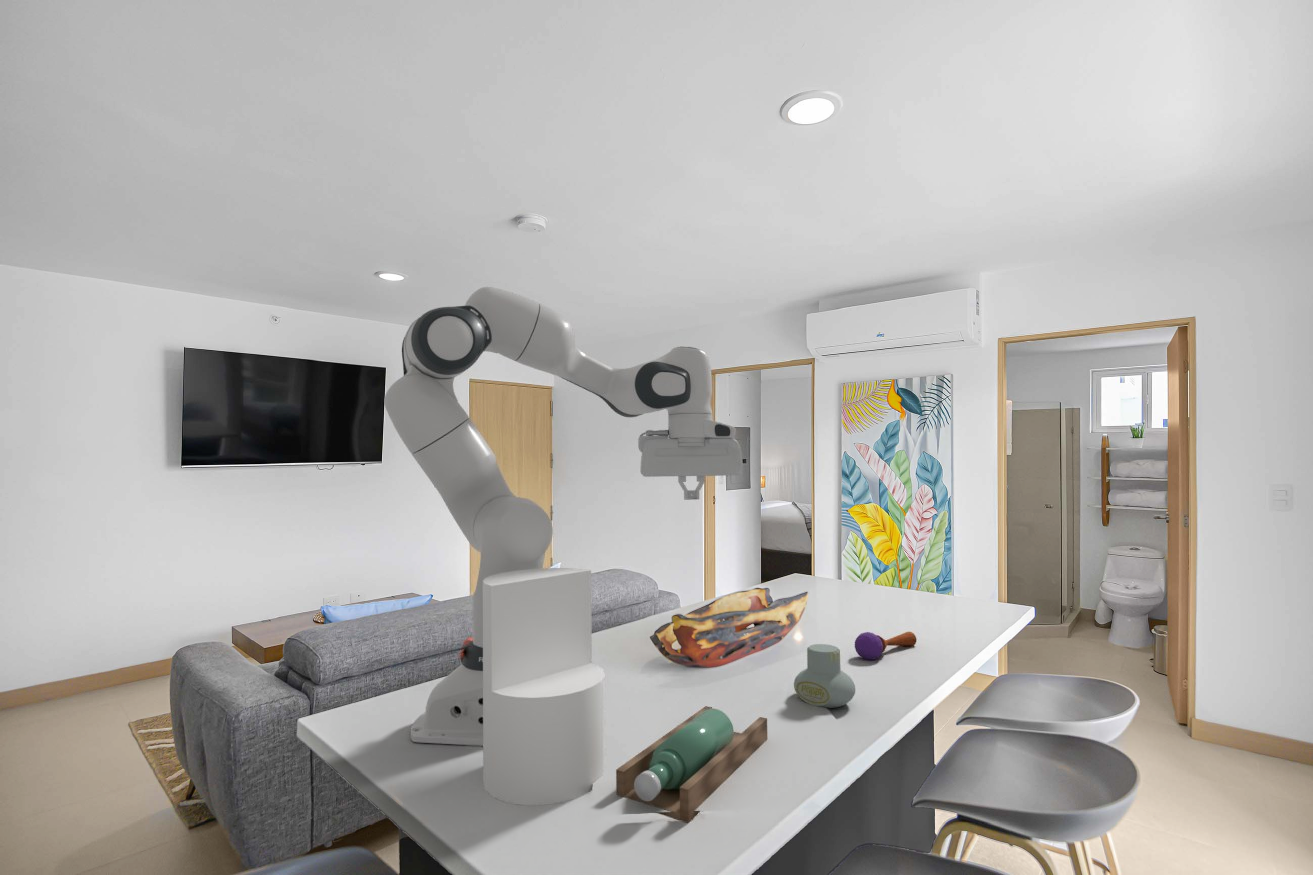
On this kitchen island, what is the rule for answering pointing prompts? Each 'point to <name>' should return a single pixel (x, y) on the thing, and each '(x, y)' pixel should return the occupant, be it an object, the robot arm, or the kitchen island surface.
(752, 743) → the u rest
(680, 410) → the robot arm
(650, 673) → the kitchen island surface
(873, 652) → the purple maraca
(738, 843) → the kitchen island surface
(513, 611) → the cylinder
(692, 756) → the bottle
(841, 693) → the air freshener
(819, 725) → the kitchen island surface
